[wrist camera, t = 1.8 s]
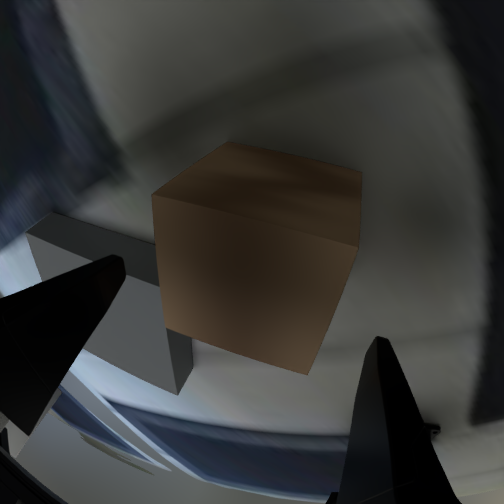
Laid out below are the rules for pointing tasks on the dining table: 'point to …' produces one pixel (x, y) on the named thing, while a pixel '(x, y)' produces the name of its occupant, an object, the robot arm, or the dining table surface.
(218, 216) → the walnut cube
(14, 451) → the white pillar candles
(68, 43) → the dining table surface
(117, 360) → the slate slab
